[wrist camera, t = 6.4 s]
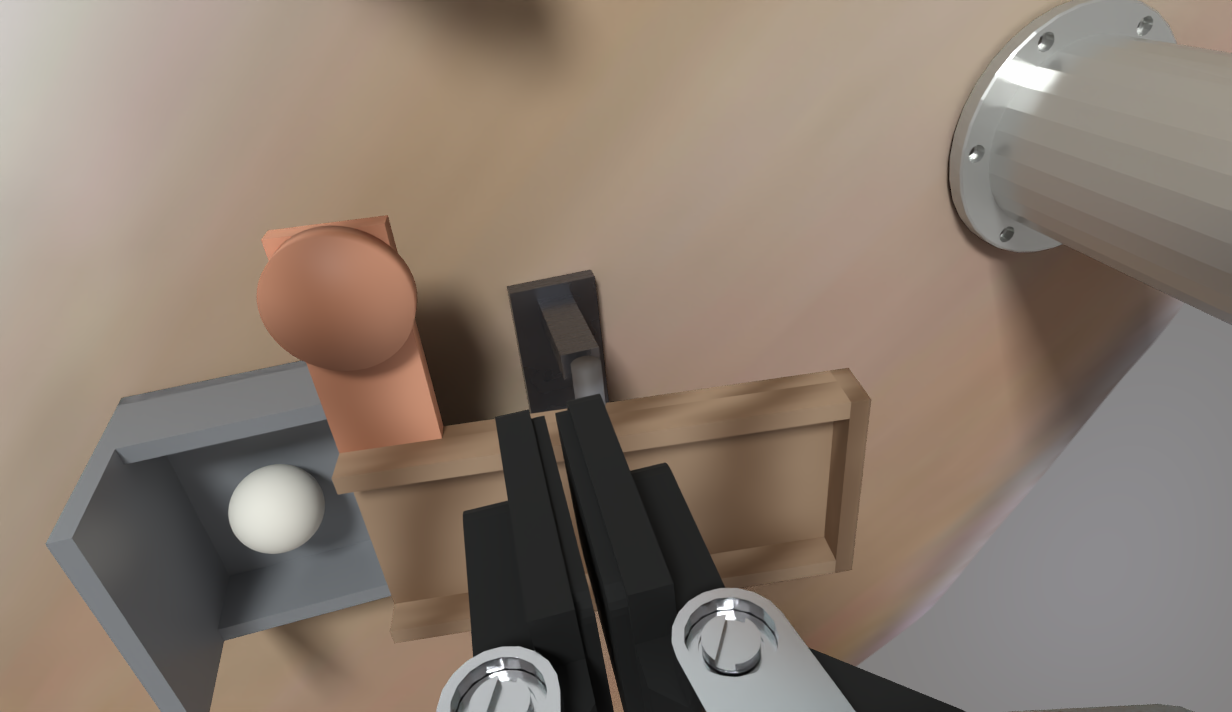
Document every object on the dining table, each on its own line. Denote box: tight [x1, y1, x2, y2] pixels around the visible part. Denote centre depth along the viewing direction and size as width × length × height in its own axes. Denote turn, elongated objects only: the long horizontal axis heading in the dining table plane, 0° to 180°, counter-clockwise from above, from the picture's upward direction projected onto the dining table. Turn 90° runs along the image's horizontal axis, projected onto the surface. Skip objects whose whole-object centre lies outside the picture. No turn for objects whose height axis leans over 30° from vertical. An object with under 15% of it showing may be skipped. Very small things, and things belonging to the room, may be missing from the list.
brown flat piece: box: [257, 215, 871, 643], centre depth 30 cm, size 21×21×3 cm
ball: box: [228, 464, 325, 554], centre depth 34 cm, size 4×4×4 cm
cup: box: [46, 361, 391, 712], centre depth 33 cm, size 12×12×9 cm
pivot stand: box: [507, 270, 609, 414], centre depth 36 cm, size 4×15×6 cm, turn 6°
